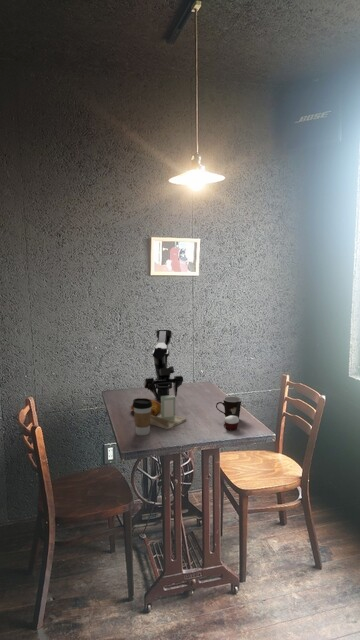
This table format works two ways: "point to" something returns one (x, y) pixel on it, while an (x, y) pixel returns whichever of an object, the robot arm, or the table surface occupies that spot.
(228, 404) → the coffee mug
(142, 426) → the coffee cup
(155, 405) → the croissant
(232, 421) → the cocoa
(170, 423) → the ledge board
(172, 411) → the sage green box
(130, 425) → the table surface
